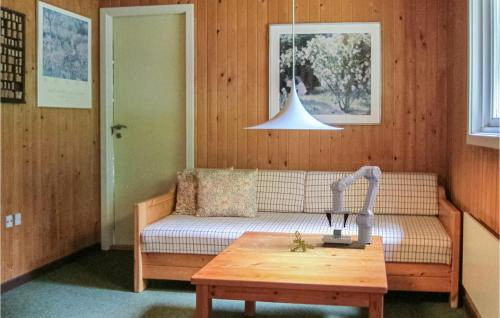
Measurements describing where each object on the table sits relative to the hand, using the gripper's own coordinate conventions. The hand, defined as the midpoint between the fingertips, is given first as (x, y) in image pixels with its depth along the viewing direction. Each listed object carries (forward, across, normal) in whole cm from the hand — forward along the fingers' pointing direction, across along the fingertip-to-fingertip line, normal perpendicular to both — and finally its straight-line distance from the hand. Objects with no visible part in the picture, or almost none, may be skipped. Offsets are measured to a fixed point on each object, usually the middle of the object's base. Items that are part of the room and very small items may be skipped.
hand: (337, 227), depth 302 cm
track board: (+10, +4, 0) cm, 11 cm away
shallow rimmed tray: (+9, 0, 0) cm, 9 cm away
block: (+7, 0, 0) cm, 7 cm away
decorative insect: (+11, -16, -21) cm, 28 cm away
